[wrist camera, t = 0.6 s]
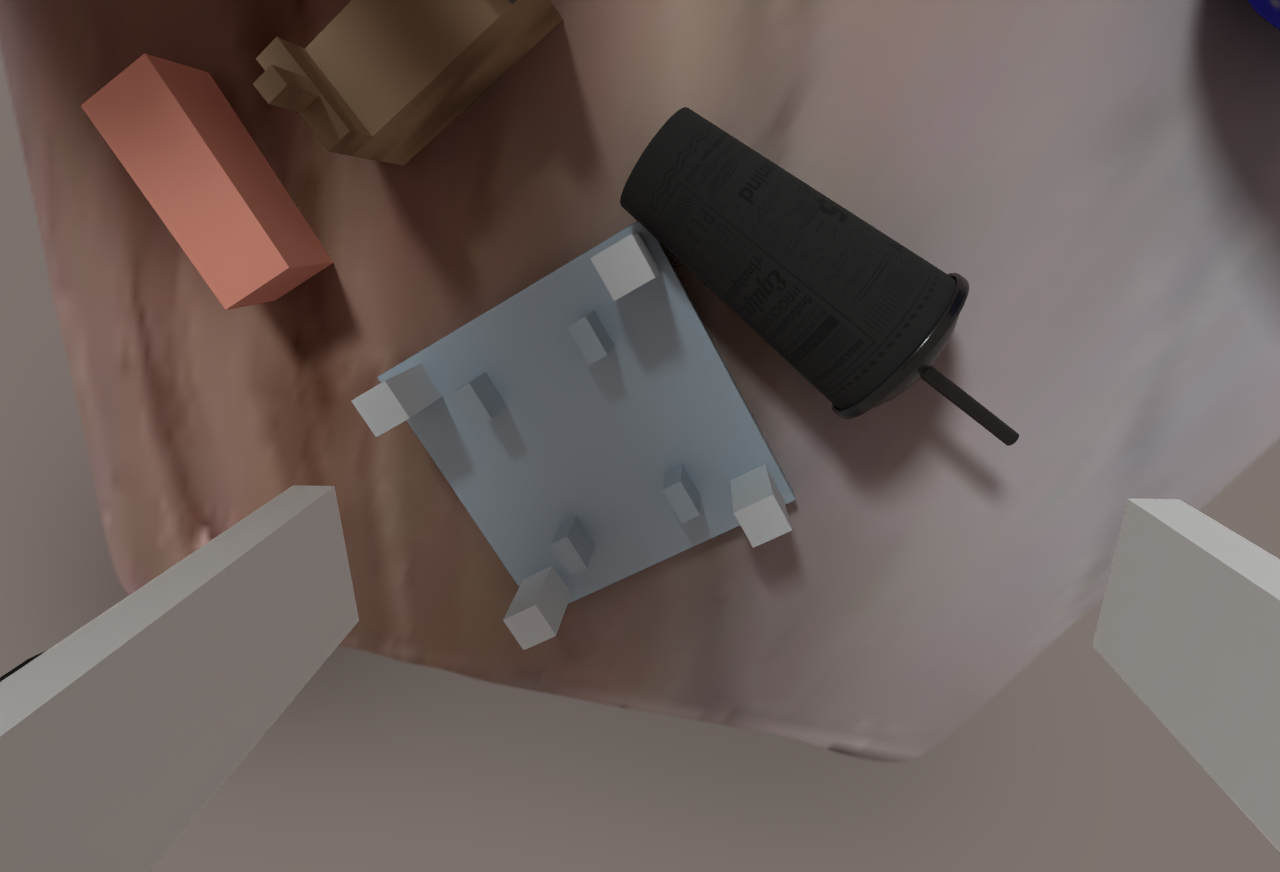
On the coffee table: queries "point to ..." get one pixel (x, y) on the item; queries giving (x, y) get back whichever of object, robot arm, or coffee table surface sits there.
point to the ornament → (1268, 10)
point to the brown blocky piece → (399, 69)
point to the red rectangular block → (207, 180)
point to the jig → (588, 429)
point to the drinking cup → (801, 269)
